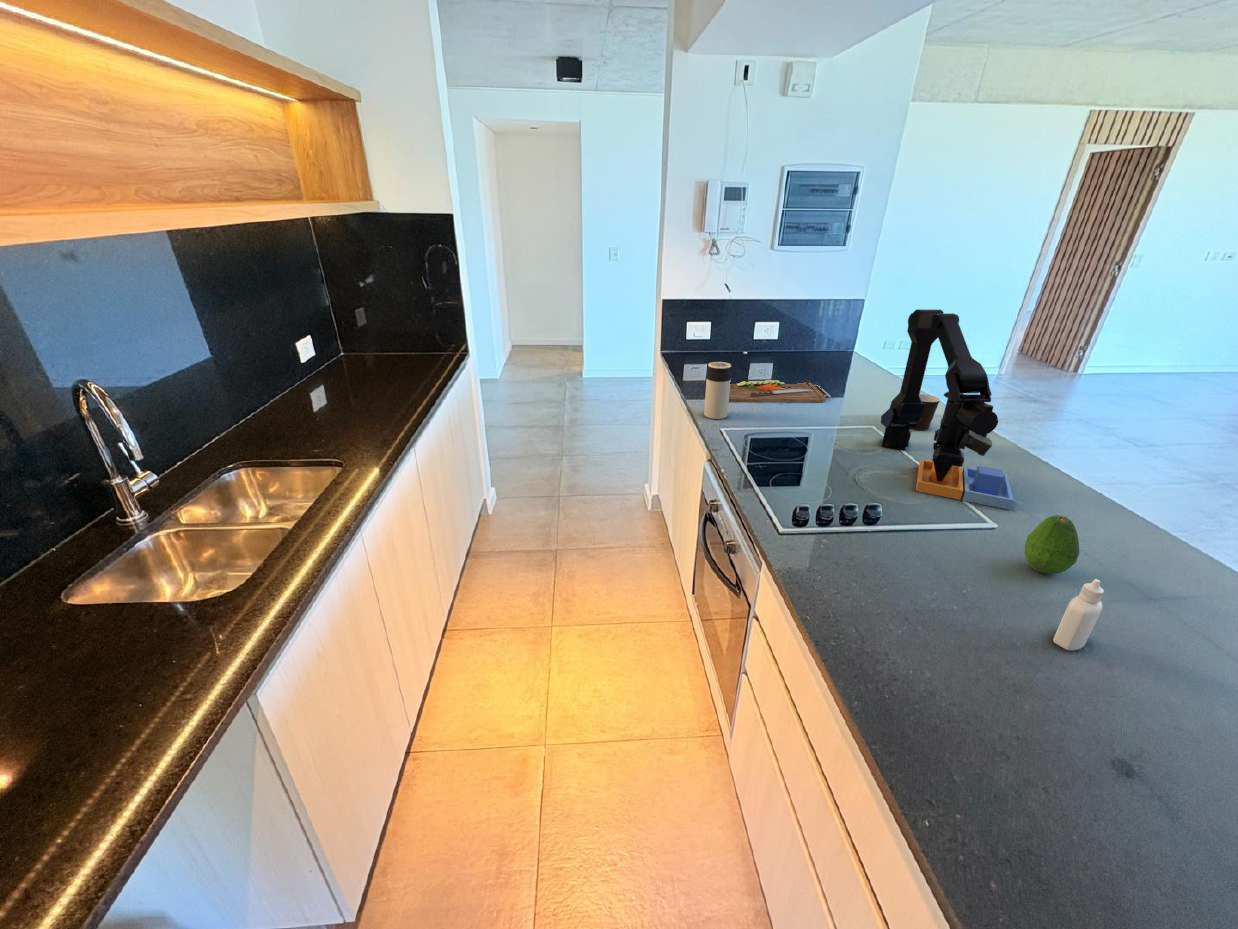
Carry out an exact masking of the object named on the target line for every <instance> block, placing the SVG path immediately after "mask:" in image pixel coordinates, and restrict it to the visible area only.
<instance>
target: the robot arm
mask: <svg viewBox="0 0 1238 929" xmlns="http://www.w3.org/2000/svg"><path fill="white" fill-rule="evenodd" d="M906 332H907V334H908V337H909V338H910V341H911V343H910V347H909V352H908V355H907V356H908V357H907V361H906V364H905V369H904V372H903V378H902V382H901V386H900V391H899V393H898V394H897V395H896V396H895V397H894V398H893V399H892V400H891V402H890V404H889V408H888V409H887V410H886V411H885V412H884V413H883V414H882V415H881V416H880V424H881V425H882V426H883V427H885V428H884V429H885V430H884V432H883V433H884V434H883V437H882V441H881V444H880V446H881V447H884V448H887V449H894V450H899V451H906V448H907V447H908V448H909V443H910V439H911V435H912V431H911V429H910V428H917V426H918V424H919V422H920V420H921V418H922V417H923V410H924V407H925V405H924V403H922V402H921V399H920V397H919V394H921V390H922V386H923V381H924V377H925V374H926V369H927V365H928V361H929V358H930V353H931V348H932V345H933V343H935V342H936V341H937V340H938V341H939V344H940V347H941V349H942V352H943V355H944V358H945V361H946V364H947V371H946V372H945V374H944V375H945V377H944V378H945V384H946V387H947V390H948V391H946V392H944V393H943V397H945V398H947V400H946V403H945V407H944V411H943V415H942V418H941V419H940V425H939V428H938V429H936V430H935V431H934V435H933V441H934V442H933V445H932V448H933V452H932V460H931V461H933V463H934V467H935V472H936V477H937V481H940V482H942V481H943V479H944V478H945V476H946V475H947V473H948V471H949V470H950V468H951V467H952V466H957V467H962V468H963V465H964V463H965V462H964V461H965V454H964V453H963V451H962V450H965V448H967V449H969V450H971V451H973V452H974V453H977V454H978V455H979V456H982V457H985V455H986V454H987V452H988V451H990V449H991V448H992V447H993V441H992V440H991V438H990V437H987V436H988V434H990V433H991V432H993V431H994V430H995V429H996V428H997V426H998V424H999V417H998V414H997V413H996V412H994V405H992V404H989V403H992V397H991V396H992V392H991V388H990V383H989V377H988V374H987V372H986V370H985V368H984V367H983V365H982V364H981V362H979V361H977V359H974V358H973V356H972V355H971V352H970V349H969V347H968V344H967V341H966V339H965V337H964V333H963V331H962V329H961V326H960V316H959V315H958V314H956V313H944V310H942V309H915V310H914V311H913V312H912V313H910V314H909V316H908V318H907V331H906Z"/></svg>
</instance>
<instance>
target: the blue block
mask: <svg viewBox="0 0 1238 929" xmlns="http://www.w3.org/2000/svg"><path fill="white" fill-rule="evenodd" d="M976 469H977V471H976V474H975V478H974V481H973V491H975V492H980V493H985V494H990V495H996V496H998V493H999V490H1000V487H1001V484H1002V481H1003V478H1004V477H1003V474H1004V472H1003V469H1000V468H994V467H989V466H984V465H977V468H976Z"/></svg>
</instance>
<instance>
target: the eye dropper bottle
mask: <svg viewBox="0 0 1238 929" xmlns="http://www.w3.org/2000/svg"><path fill="white" fill-rule="evenodd" d="M1104 594H1105V590H1104V589H1103V587H1102V586H1101V580H1100V579H1097V578H1094V579H1093V580H1092V582H1089V583H1088V582H1087V583H1084V584H1083V585H1082V587H1081V590H1080V591H1079V594H1078V595H1075V596H1074V597H1073V598H1072V599H1070V601H1069V603H1068V605H1067V607H1066V609H1065V612H1064V613H1063V616H1062V618H1061V620H1060V623H1059V626H1058V627H1057V630H1056V632H1055V634H1054V636H1053V643H1054V644H1055V645H1057V646H1059V647H1060V648H1062V649H1063V650H1065V651H1070V652H1071V651H1072V652H1073V651H1078V650H1080V649H1083V647H1084V646H1085V645H1086V644H1087V642H1088V640H1089V638H1090V635H1091V633H1092V631H1093V629H1094V627H1095V625H1096V623H1097V621H1098V619H1099V617H1100V615H1101V613H1102V610H1103V603H1102V601H1101V600H1102V598H1103V595H1104Z"/></svg>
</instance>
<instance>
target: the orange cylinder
mask: <svg viewBox="0 0 1238 929" xmlns="http://www.w3.org/2000/svg"><path fill="white" fill-rule="evenodd" d="M953 469H954V466H952V467H951V468H950V470H949V471H948V473H947V475H946V476H945V478H944V479H943V481H942V482H940V481H937V477H936V472H935V467H934V463H933V466H932V469H931V473H930V477H929V480H930V481H931V482H933V483H936V484H941V485H946V484H949V482H950V479H951V476H952V472H953Z"/></svg>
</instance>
